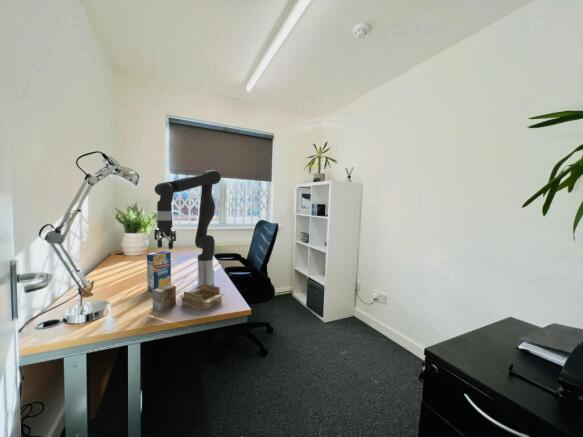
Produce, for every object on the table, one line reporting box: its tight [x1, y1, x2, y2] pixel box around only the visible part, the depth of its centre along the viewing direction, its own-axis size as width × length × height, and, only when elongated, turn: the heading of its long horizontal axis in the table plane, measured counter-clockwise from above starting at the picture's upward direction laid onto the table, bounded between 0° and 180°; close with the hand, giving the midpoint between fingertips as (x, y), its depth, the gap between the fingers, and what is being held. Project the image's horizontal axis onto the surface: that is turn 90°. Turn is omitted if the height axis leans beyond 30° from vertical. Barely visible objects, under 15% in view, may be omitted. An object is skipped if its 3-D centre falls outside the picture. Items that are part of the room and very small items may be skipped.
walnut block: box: [152, 284, 177, 313], centre depth 115 cm, size 9×5×10 cm, turn 157°
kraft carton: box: [179, 284, 225, 312], centre depth 121 cm, size 13×19×8 cm
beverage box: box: [146, 250, 172, 292], centre depth 143 cm, size 7×11×22 cm, turn 151°
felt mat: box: [150, 304, 179, 314], centre depth 116 cm, size 9×9×1 cm
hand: (165, 248), depth 128 cm, fingers open, 8 cm apart
